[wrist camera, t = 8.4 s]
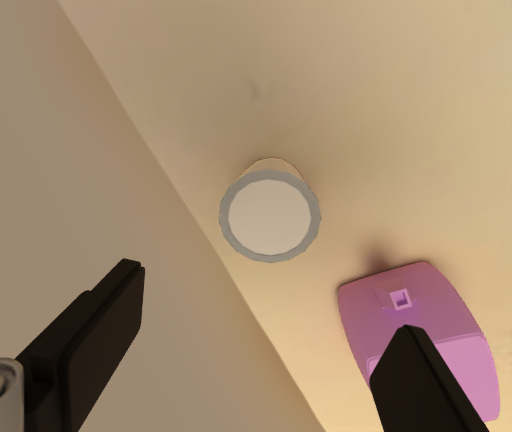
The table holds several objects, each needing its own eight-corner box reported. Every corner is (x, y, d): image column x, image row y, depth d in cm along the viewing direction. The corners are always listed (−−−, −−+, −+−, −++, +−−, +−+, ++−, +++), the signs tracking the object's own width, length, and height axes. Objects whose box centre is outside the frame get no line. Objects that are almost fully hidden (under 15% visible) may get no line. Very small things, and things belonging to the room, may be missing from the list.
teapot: (315, 256, 27) (334, 340, 18) (427, 219, 25) (517, 292, 16) (365, 377, 33) (400, 487, 24) (459, 356, 31) (539, 469, 21)
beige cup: (253, 233, 27) (245, 276, 20) (220, 170, 25) (199, 195, 18) (321, 207, 25) (336, 243, 19) (291, 136, 23) (297, 150, 17)
